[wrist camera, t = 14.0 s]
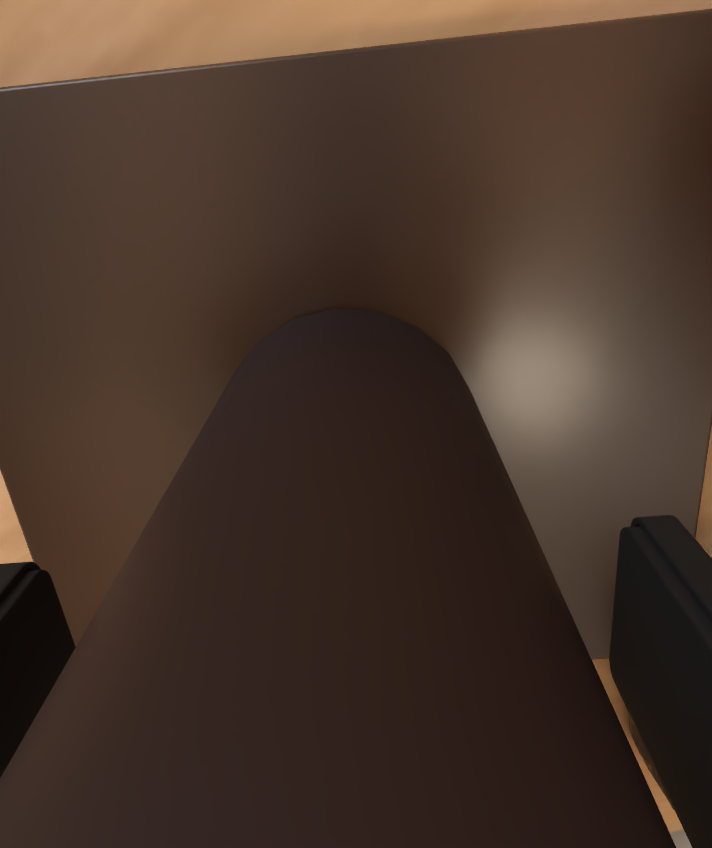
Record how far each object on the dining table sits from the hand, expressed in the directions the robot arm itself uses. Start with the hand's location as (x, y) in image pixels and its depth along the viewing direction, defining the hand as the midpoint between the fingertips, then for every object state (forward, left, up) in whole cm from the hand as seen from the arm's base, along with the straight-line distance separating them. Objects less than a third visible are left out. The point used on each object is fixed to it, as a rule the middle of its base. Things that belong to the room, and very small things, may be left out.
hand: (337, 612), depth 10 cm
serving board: (0, 0, -9) cm, 9 cm away
